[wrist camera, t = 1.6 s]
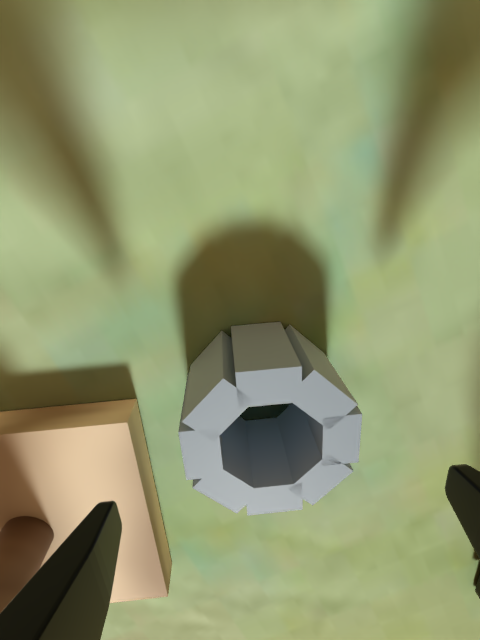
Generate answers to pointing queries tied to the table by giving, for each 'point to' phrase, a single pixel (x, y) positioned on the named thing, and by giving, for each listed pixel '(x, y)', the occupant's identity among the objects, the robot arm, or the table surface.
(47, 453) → the pegboard
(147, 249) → the table surface
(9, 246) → the table surface
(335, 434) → the ring
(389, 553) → the table surface
